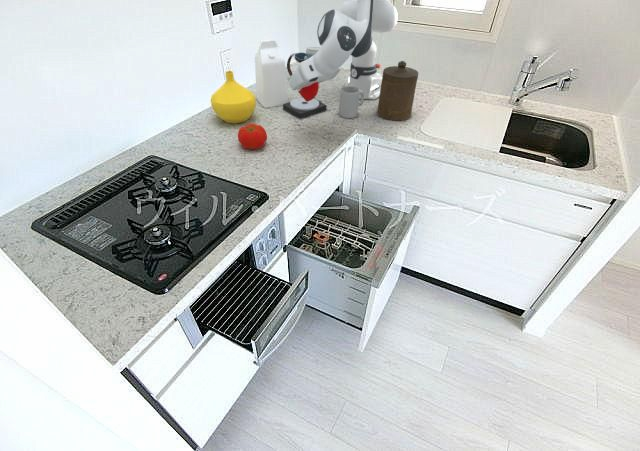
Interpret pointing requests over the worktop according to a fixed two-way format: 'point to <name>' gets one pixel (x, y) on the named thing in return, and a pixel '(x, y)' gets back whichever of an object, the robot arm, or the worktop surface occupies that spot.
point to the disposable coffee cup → (312, 51)
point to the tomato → (252, 136)
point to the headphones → (298, 57)
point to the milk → (270, 75)
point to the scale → (304, 107)
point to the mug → (350, 101)
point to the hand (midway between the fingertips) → (305, 87)
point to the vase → (233, 101)
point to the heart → (310, 91)
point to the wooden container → (397, 92)
